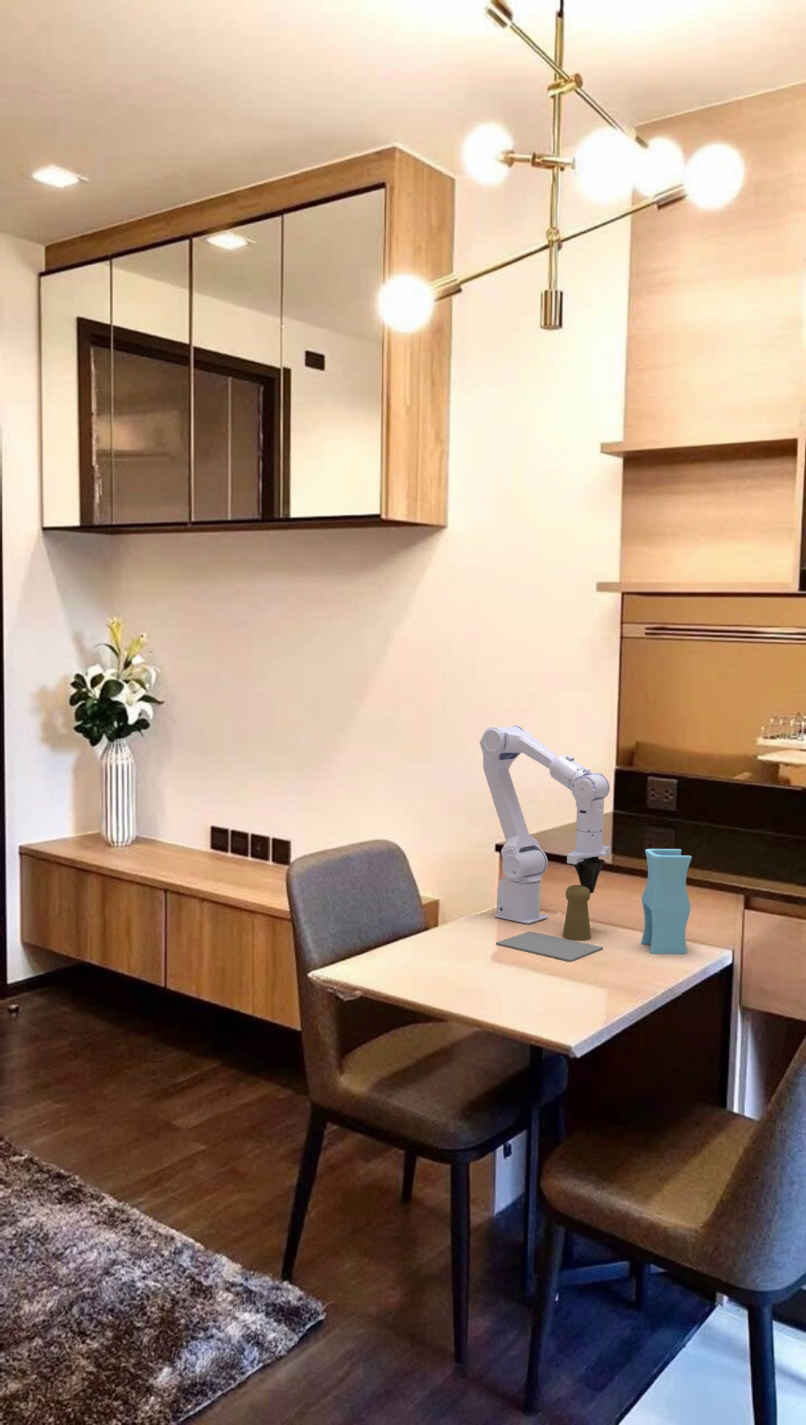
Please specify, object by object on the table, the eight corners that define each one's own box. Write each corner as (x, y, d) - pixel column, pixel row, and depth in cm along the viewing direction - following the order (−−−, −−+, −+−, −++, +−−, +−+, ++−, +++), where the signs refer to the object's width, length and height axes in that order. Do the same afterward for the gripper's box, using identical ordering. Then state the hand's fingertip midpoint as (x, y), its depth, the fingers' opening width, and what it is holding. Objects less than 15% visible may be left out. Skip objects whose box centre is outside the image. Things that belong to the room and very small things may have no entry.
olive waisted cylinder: (557, 934, 234) (559, 883, 234) (583, 932, 236) (584, 882, 235) (570, 941, 229) (571, 889, 228) (596, 939, 230) (597, 888, 230)
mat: (495, 944, 225) (495, 942, 225) (529, 933, 235) (529, 931, 235) (570, 962, 214) (570, 960, 214) (602, 949, 223) (603, 947, 223)
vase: (688, 954, 221) (692, 856, 220) (650, 953, 221) (653, 856, 219) (677, 943, 229) (680, 849, 227) (640, 943, 228) (643, 848, 227)
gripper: (588, 836, 226) (586, 901, 227) (622, 828, 237) (621, 890, 238) (559, 832, 231) (557, 895, 231) (594, 824, 242) (592, 885, 242)
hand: (587, 892), depth 235 cm, fingers closed
